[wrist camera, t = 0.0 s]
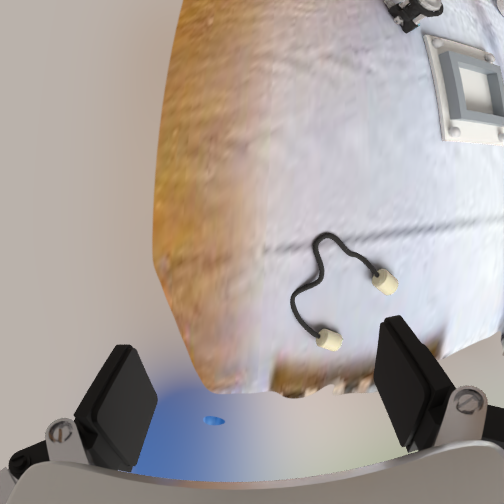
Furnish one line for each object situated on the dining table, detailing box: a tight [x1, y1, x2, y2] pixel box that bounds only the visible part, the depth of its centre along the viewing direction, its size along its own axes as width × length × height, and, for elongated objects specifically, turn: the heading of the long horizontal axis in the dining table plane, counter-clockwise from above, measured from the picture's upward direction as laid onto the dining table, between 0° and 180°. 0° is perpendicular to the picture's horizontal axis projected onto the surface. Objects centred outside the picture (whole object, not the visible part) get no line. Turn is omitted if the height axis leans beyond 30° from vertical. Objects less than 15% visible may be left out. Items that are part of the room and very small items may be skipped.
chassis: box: [423, 35, 504, 146], centre depth 30 cm, size 18×16×4 cm
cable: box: [290, 233, 398, 351], centre depth 43 cm, size 16×16×4 cm
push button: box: [384, 0, 443, 33], centre depth 24 cm, size 7×5×10 cm
